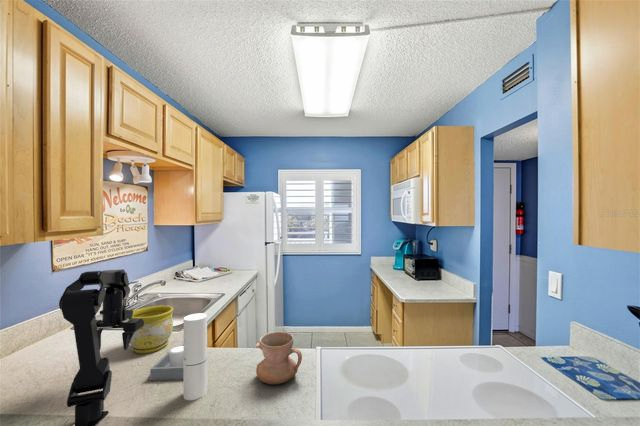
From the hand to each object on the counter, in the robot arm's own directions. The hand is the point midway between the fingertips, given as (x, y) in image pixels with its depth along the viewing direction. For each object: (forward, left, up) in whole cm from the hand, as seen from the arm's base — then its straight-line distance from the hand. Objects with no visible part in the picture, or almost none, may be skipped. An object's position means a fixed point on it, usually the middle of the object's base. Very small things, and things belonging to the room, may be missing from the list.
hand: (112, 350), depth 97 cm
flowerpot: (+30, +3, -12) cm, 33 cm away
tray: (+9, -19, -12) cm, 24 cm away
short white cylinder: (+9, -19, -11) cm, 24 cm away
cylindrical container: (-7, -31, -12) cm, 34 cm away
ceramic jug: (0, -58, -12) cm, 59 cm away
